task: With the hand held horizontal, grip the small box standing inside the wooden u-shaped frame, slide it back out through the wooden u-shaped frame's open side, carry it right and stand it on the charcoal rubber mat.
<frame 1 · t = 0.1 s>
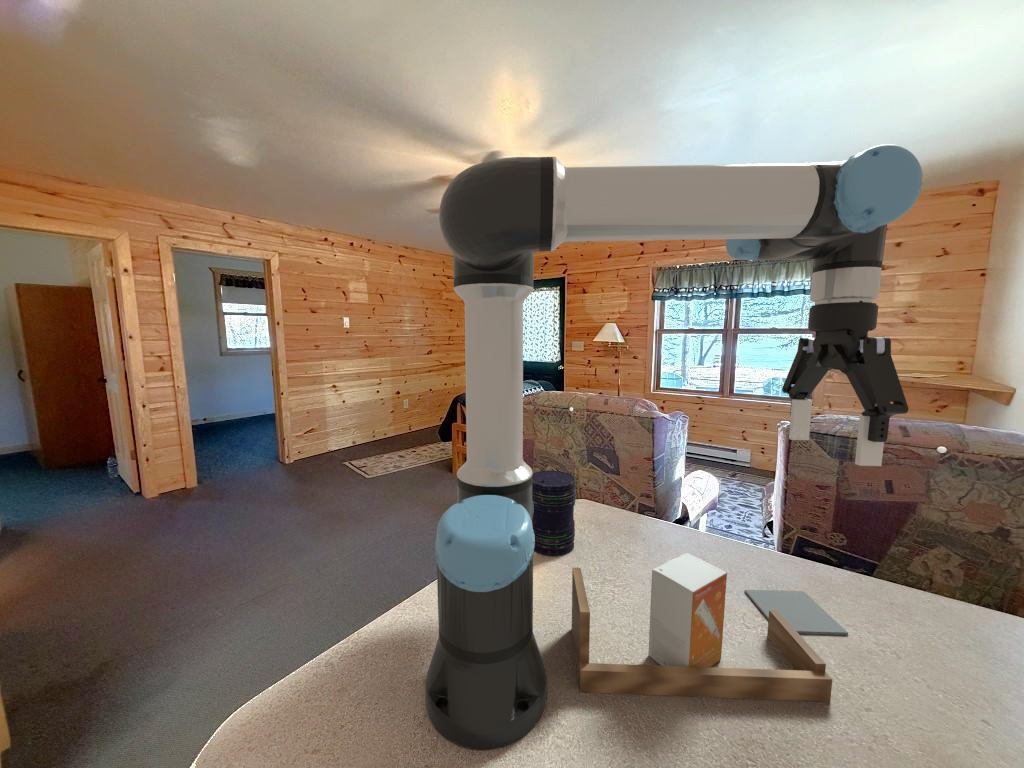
hand: (829, 451, 59), 28 cm above the countertop, tool pointing down, fingers open, 13 cm apart
mat: (792, 611, 66), on the countertop
wooden u-shaped frame: (684, 657, 57), on the countertop
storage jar: (551, 545, 88), on the countertop
small box: (684, 659, 57), on the countertop
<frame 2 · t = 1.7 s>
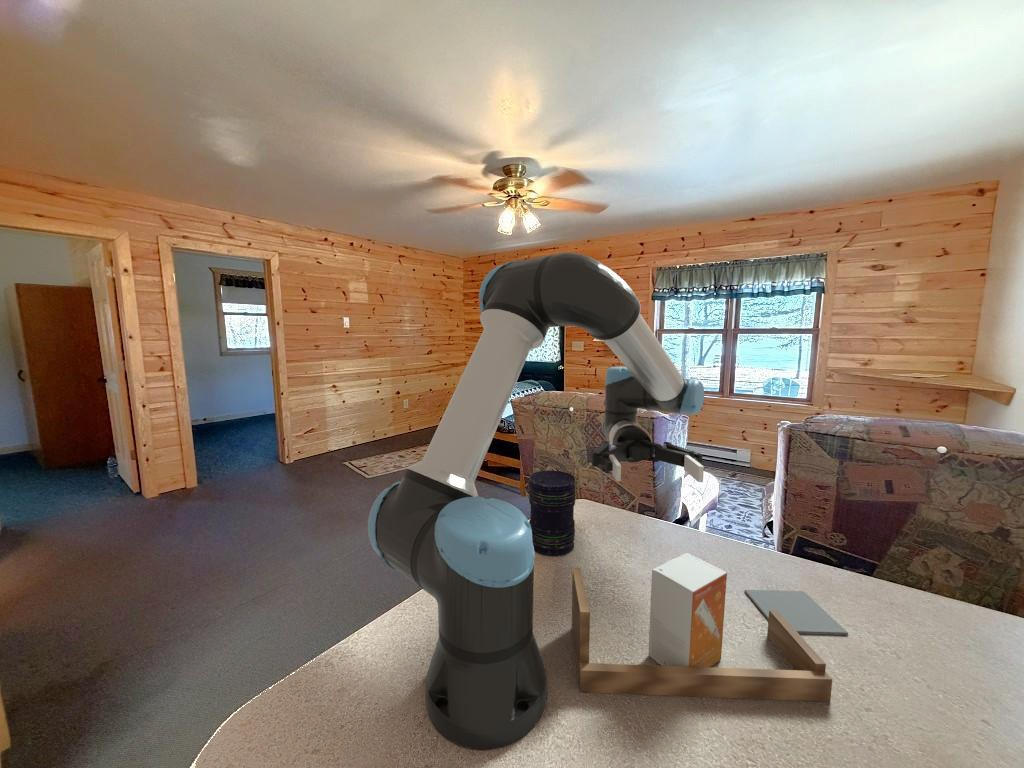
hand: (659, 474, 68), 22 cm above the countertop, tool horizontal, fingers open, 13 cm apart
nothing on the countertop moved.
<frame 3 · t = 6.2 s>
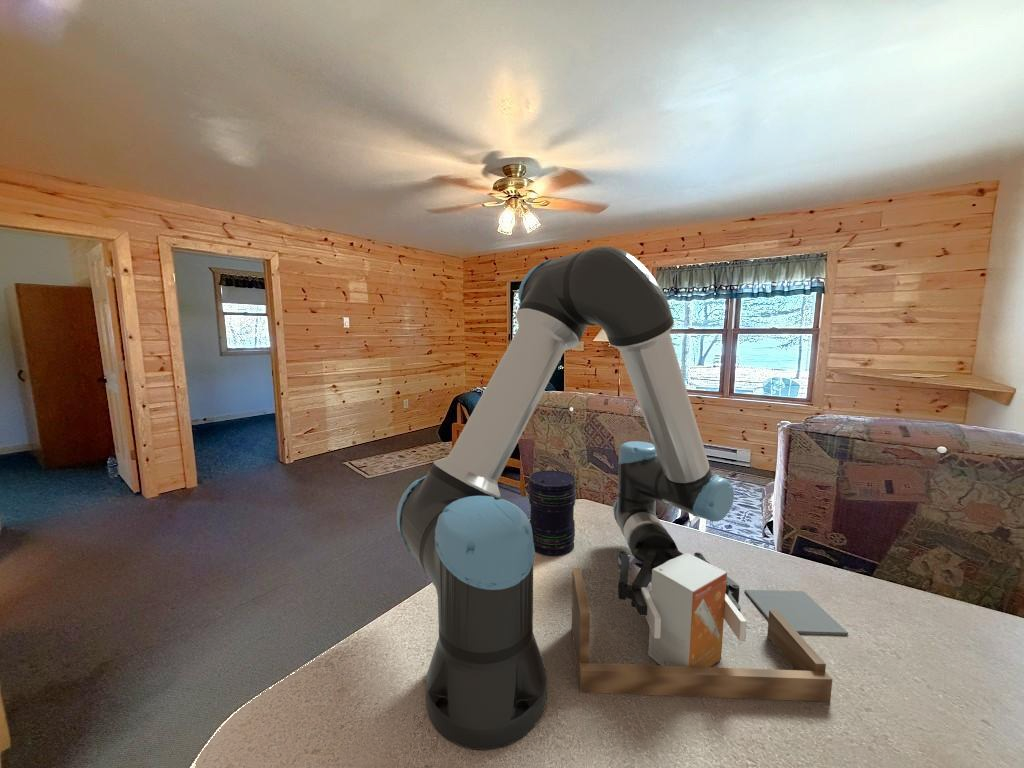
hand: (700, 629, 51), 8 cm above the countertop, tool horizontal, fingers closed on small box, 10 cm apart
small box: (684, 659, 57), on the countertop, touching gripper
everything else where it was.
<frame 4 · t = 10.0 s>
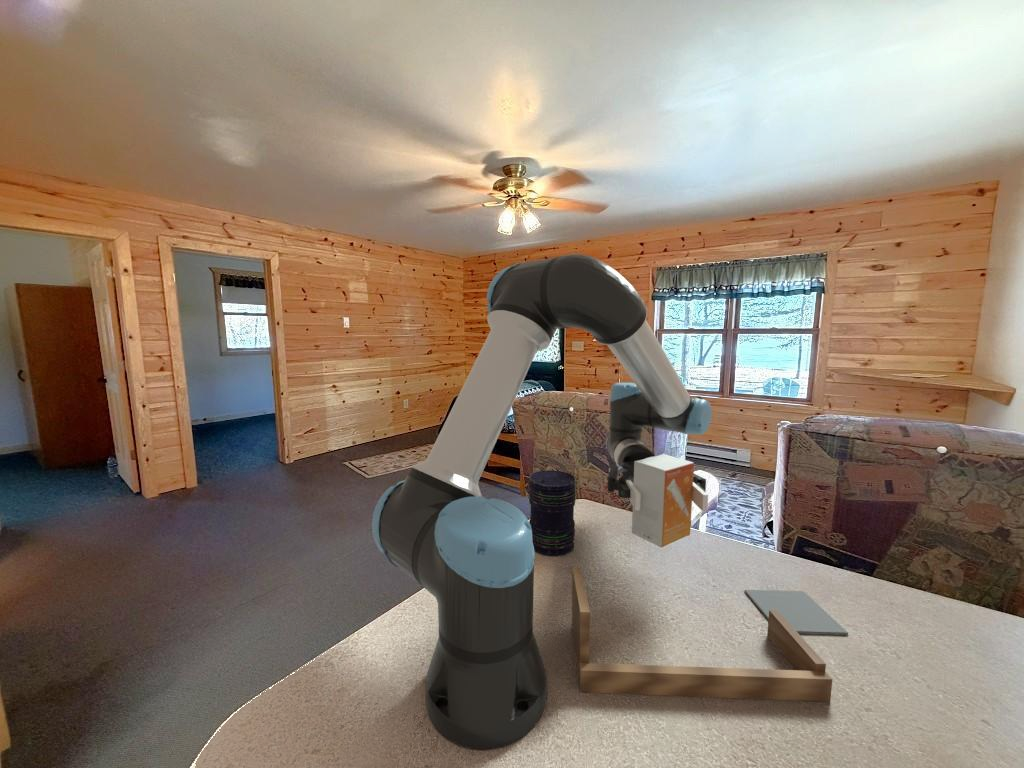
hand: (671, 502, 65), 18 cm above the countertop, tool horizontal, fingers closed on small box, 10 cm apart
small box: (661, 535, 70), point 10 cm above the countertop, touching gripper
everything else where it was.
when the fingers open (9 cm above the countertop, at t = 13.9 s): small box moves 1 cm, resting on mat.
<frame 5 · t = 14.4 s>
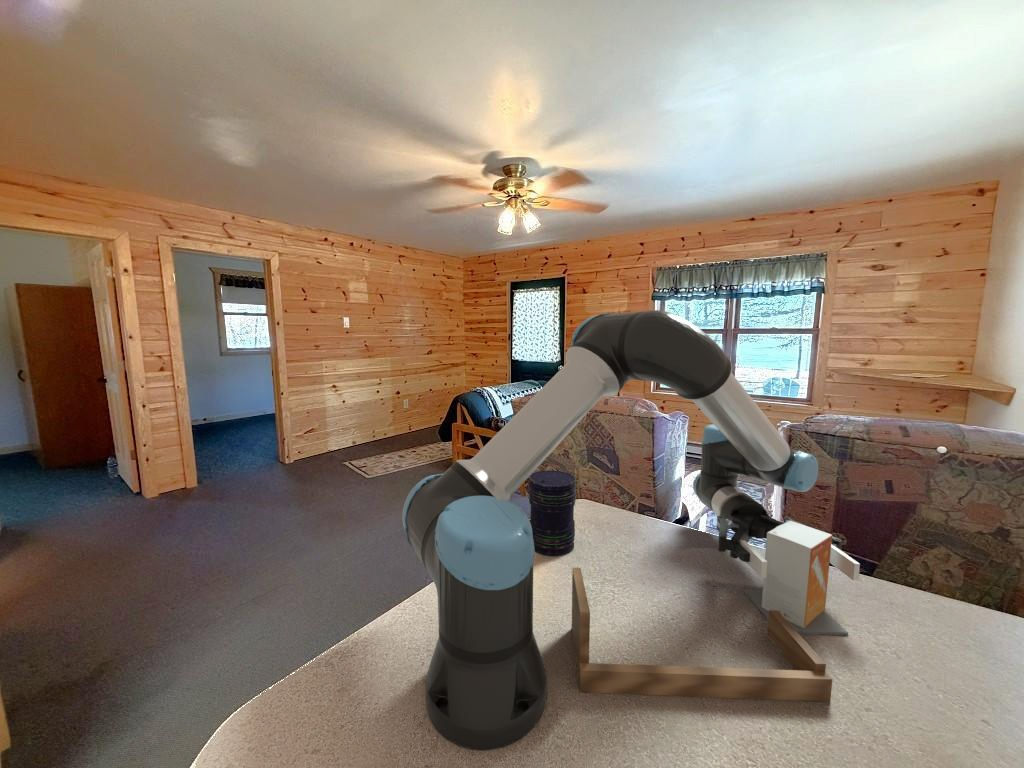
hand: (810, 571, 62), 9 cm above the countertop, tool horizontal, fingers open, 13 cm apart
small box: (793, 610, 66), resting on mat
everything else where it was.
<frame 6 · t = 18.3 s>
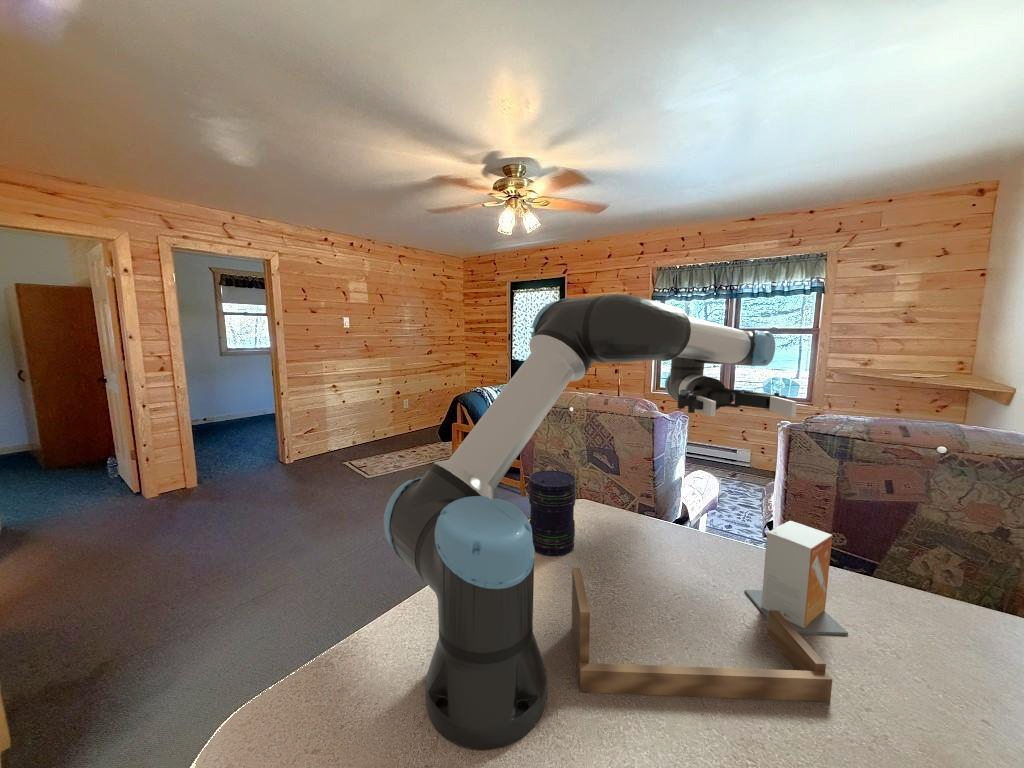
hand: (753, 409, 70), 32 cm above the countertop, tool horizontal, fingers open, 13 cm apart
nothing on the countertop moved.
at the end: small box inside the target area (0.2 cm from its centre), resting on mat; small box tilted 0°; the gripper is holding nothing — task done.
